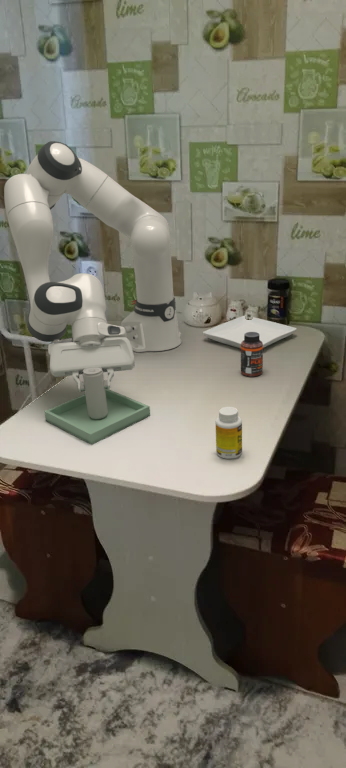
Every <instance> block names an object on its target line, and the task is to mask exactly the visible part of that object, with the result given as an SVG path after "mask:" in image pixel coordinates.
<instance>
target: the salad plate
mask: <svg viewBox="0 0 346 768" xmlns="http://www.w3.org/2000/svg"><path fill="white" fill-rule="evenodd" d="M245 316H246V315H241V316H239V317H236V318H234V319H231V320H229V321H226V322H223V323H221V324H219V325H217V326H213V327H212V328H209V329H207V330H204V331H202V334H203V336H205V337H206V338H208V339H210V340H213V341H215V342H219V343H221V344H223V345H228V346H231V347H235V348H237V349H241V342H242V341H243V340H244V334H245V333H247V332H257V333H259V340H260V341H262V343H263V349H264V348H266V347H268V346H271V345H272V344H274V343H276V342H278V341H280V340H281V341H282V340H283V339H284V338H288V337H289V336H291V335H292V334H294V333H295V332H296V331H297V327H293V326H290V325H286V324H282V323H278V322H274V321H270V320H267V319H263V318H258V317H254V316H252V317H253V319H252V320H246V319H245Z"/></svg>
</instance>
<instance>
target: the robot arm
mask: <svg viewBox="0 0 346 768" xmlns="http://www.w3.org/2000/svg"><path fill="white" fill-rule="evenodd" d="M3 192H4V193H3V195H4V196H3V197H4V198H3V199H4V206H5V207H4V208H5V213H6V218H7V221H8V222H7V223H8V226H9V230H10V233H11V236H12V239H13V242H14V245H15V248H16V251H17V255H18V258H19V262H20V264H21V267H22V273H23V278H24V282H25V286H26V293H27V297H28V298H27V299H28V302H29V311H28V316H27V319H26V326H27V330H28V332H29V333H30V335H31V336H32V337H33V338H35V339H37V340H39V341H41V342H43V343H44V342H45V343H48V346H47V352H48V355H49V371H50V374H51V375H52V376H54V377H55V378H60V377H69V376H72V379H73V381H74V382H75V383H76V384H77V386H78V387H77V389H78V392H79V393H80V392H85V387H84V381H81V380H80V376H81V375H83V370H84V369H85V368H87V369H88V368H98V367H101V368H102V371H103V373H107V375H108V377H107V378H106V379H104V388H105V389H109V390H111V382H112V380H113V378H114V376H115V374H114V373H115V372H123V371H132V370H133V369H134V368H135V365H136V364H135V363H136V362H135V355H134V352H135V353H143V352H161V351H168V350H171V349H174V348H176V347H178V346H180V345H181V344H182V339H181V337H182V333H181V331H180V329H179V328H180V327H179V322H178V316H177V312H176V310H177V309H176V308H177V307H176V305H177V303H176V298H175V297H174V285H173V284H174V283H173V281H174V279H173V268H172V265H173V264H172V251H171V250H172V249H171V233H170V232H171V231H170V230H171V229H170V225H169V222H168V221H167V218H166V217H164V216H163V215H162V214H161V213H160V212H158V211H157V210H155V209H153V208H152V207H151V206H150V205H148V204H146V202H144V201H143V200H141V199H140V198H138V197H136V196H135V195H133V194H132V193H131V192H129V191H128V190H127V189H125V188H124V187H123V186H122V185H121V184H119V183H118V182H117V181H115V180H114V179H113V178H112V177H110V176H109V175H108V174H107V173H106V172H104V171H103V170H101V169H100V168H99V167H97V166H95V165H94V164H92V163H91V162H89V161H87V160H85V159H83V158H81V157H78V156H77V154H76V153H75V152H74V150H73V149H72V148H71V147H70V146H68V145H67V144H65V143H63V142H61V141H55V140H52V141H51V140H50V141H47V142H46V143H45V144H43V146H42V147H40V148H39V150H38V152H37V154H36V155H35V157H34V158H33V159H32V161H30V164H29V166H28V167H27V171H26V173H19V174H15V175H12V176H11V177H10V178H9V179H7V181H6V182H5V184H4V187H3ZM64 194H66V195H70V196H71V197H72V198H73V199H74V200H75V201H76V202H77V203H79V204H80V205H81V206H82V207H83V208H85V210H87V211H89V213H91V214H92V215H93V216H94V217H96V218H98V219H99V220H100V221H101V222H102V223H104V224H105V225H106V226H108V227H110V228H111V229H114V230H116V231H118V232H119V233H121V234H123V235H124V236H126V237H128V238H129V239H130V246H131V254H132V261H133V268H134V271H133V272H134V278H135V289H136V290H135V291H136V299H134V300H132V301H131V305H134V308H133V311H131V312H130V313H129V314H128V315H127V316H126V317H125V318H124V319H122V321H121V324H120V325H115V324H110V323H108V321H107V317H106V312H107V303H106V297H105V296H106V295H105V292H104V291H105V290H104V287H103V284H102V282H101V280H100V279H99V278H98V277H96V276H95V275H94V274H90V273H85V272H84V273H83V272H82V273H76V274H74V275H73V276H71V277H70V278H68V279H66V280H62V281H57V282H56V281H51V280H50V275H49V262H50V261H49V260H50V255H51V250H52V244H53V240H54V235H55V234H54V222H53V215H52V211H51V210H52V209H53V208H54V207H55V206H56V203H58V202H59V200H60V199H61V198H62V196H63V195H64ZM68 324H69V325H71V337H69V338H68V337H66V338H63V337H64V335H65V334H66V331H67V328H68Z"/></svg>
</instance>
